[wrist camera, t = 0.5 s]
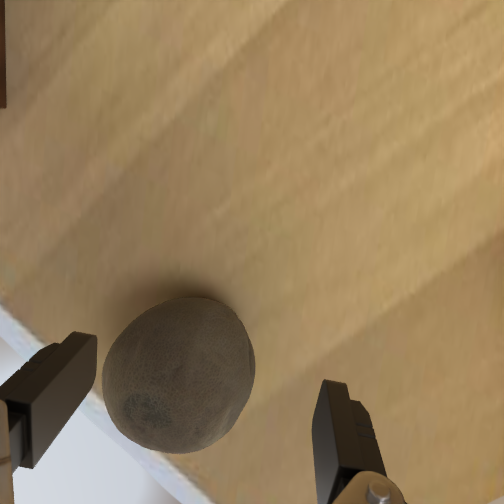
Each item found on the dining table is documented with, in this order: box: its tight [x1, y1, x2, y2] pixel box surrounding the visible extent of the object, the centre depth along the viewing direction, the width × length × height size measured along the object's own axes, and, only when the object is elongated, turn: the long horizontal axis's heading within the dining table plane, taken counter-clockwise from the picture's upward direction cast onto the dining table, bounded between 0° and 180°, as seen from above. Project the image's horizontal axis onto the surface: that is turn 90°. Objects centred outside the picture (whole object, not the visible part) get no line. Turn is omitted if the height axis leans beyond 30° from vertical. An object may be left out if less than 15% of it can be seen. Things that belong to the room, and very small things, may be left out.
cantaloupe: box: [102, 297, 255, 454], centre depth 39 cm, size 14×14×15 cm
